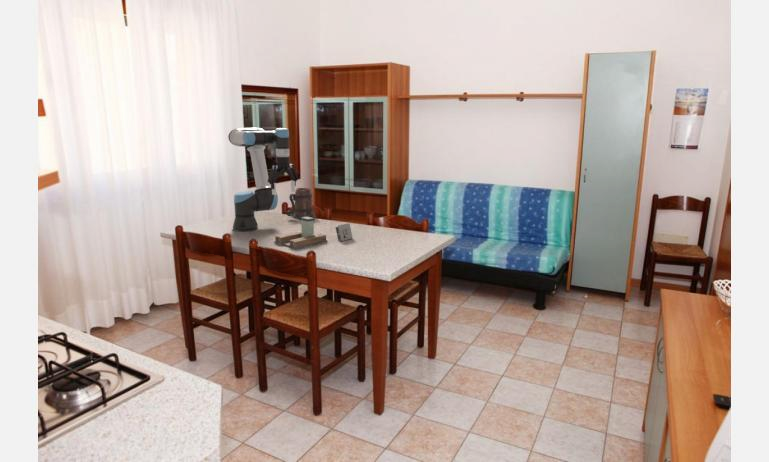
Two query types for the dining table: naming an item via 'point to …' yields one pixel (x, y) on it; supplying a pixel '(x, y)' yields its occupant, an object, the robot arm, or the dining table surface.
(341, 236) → the electrical switch
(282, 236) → the brown wooden tray
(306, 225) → the fader tab
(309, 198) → the tankard
